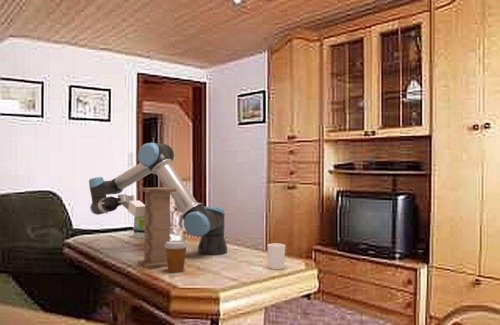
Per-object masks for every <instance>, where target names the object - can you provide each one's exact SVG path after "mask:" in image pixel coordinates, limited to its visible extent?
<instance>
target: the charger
mask: <svg viewBox="0 0 500 325" xmlns="http://www.w3.org/2000/svg"><path fill="white" fill-rule="evenodd" d="M121 196H125V200H126V201H124V202H121V204H122V205H121V206H123V207H124V208H125V209H126V210H127V212H128V213H130V214H131V215H132V216H133V217H140V216H145V203H144V202H142V201H140V199H139V200H135V201H133V200H132V199H131V198H129V197H128V196H129V195H127V194H125V193H124V194H121V193H120V194H117V198H118V197H121Z"/></svg>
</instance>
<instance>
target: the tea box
mask: <svg viewBox="0 0 500 325" xmlns="http://www.w3.org/2000/svg"><path fill="white" fill-rule="evenodd" d="M133 217H134V216H133ZM133 238H134V239H144V240H145V216H140V217H134V218H133Z"/></svg>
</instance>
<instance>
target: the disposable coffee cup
mask: <svg viewBox="0 0 500 325" xmlns="http://www.w3.org/2000/svg"><path fill="white" fill-rule="evenodd" d="M165 248H166V256H167V264H168V267H167V271H168V272H170V273H181V272H184V268H185V259H186V252H187V248H188V242H187V241H186V240H170V241H167V242H166V244H165Z"/></svg>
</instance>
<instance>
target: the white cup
mask: <svg viewBox="0 0 500 325" xmlns="http://www.w3.org/2000/svg"><path fill="white" fill-rule="evenodd" d="M285 257H286V244H283V243H278V242H277V243H276V242H275V243H269V244H267V264H268V266H267V267H268V269H270V268H272V269H271V270H282V269H281V268H283V269H284V268H285V259H286V258H285Z"/></svg>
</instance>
